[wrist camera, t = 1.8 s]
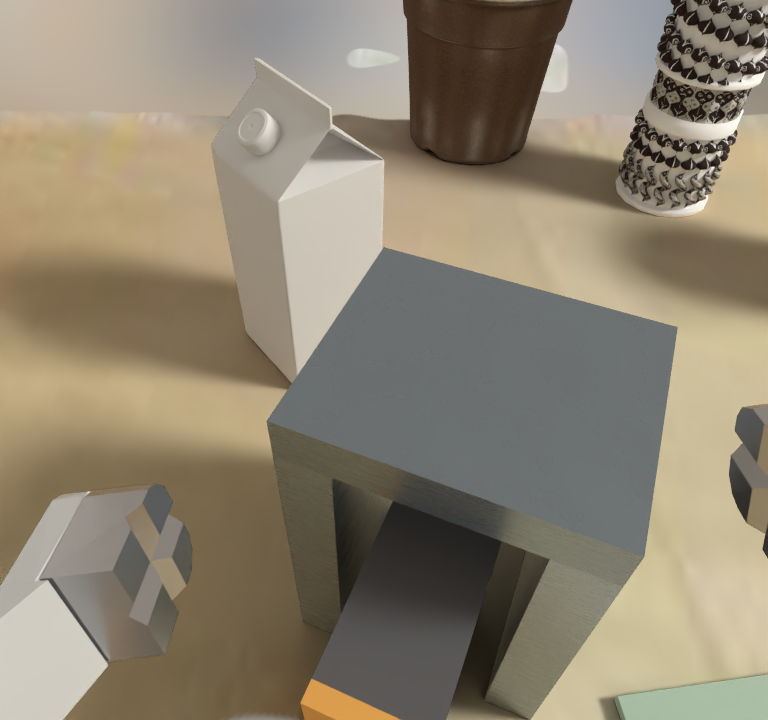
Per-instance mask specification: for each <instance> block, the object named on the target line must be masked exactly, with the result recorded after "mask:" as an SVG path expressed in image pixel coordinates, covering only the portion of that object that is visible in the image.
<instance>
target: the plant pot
mask: <svg viewBox="0 0 768 720" xmlns="http://www.w3.org/2000/svg"><path fill="white" fill-rule="evenodd" d="M571 3H572V0H403V8H404V14H405V16H406V18H407V33H408V34H407V35H408V56H409V57H408V60H409V91H410V132H411V136H412V138H413V140H414V141H415V143H416V144H417V145H418V146H419V147H420V148H421V149H423V150H427V149H429V150H431V151H433V152H434V153H435V154H436V155H437V157H438V158H440V159H443V160H446V161H451V162H457V163H464V164H487V163H495V162H499V161H503V160H506V159H508V158H509V157H510V155H511V154H512V153H513V152H515V151H516V152H519V151H520V150H521V149H522V148H523V146H524V144H525V142H526V138H527V134H528V130H529V127H530V124H531V120H532V117H533V114H534V111H535V107H536V104H537V100H538V97H539V94H540V90H541V87H542V84H543V81H544V78H545V74H546V71H547V68H548V65H549V62H550V58H551V55H552V52H553V49H554V45H555V42H556V39H557V36H558V33H559V32H560V31H561V30H562V28H563V27H564V25H565V22H566V19H567V15H568V12H569V9H570V6H571Z"/></svg>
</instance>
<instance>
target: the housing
mask: <svg viewBox="0 0 768 720" xmlns="http://www.w3.org/2000/svg"><path fill="white" fill-rule="evenodd" d="M677 328H678V327H675V326H671V325H667V324H664V323H660V322H656V321H653V320H649V319H645V318H642V317H638V316H634V315H631V314H627V313H623V312H620V311H616V310H612V309H609V308H605V307H601V306H598V305H594V304H590V303H587V302H583V301H579V300H576V299H572V298H568V297H565V296H561V295H557V294H553V293H550V292H546V291H542V290H539V289H535V288H531V287H528V286H524V285H520V284H517V283H513V282H509V281H506V280H502V279H498V278H495V277H491V276H487V275H484V274H480V273H476V272H473V271H469V270H465V269H462V268H458V267H454V266H451V265H447V264H443V263H440V262H436V261H432V260H428V259H425V258H421V257H417V256H414V255H410V254H406V253H403V252H399V251H395V250H392V249H388V248H383V249H382V251H381V252H380V254H379V255H378V257H377V258H376V259H375V261H374V262H373V264H372V265H371V267H370V268H369V270H368V271H367V273H366V274H365V276H364V277H363V279H362V280H361V282H360V283H359V285H358V286H357V288H356V289H355V291H354V292H353V294H352V295H351V297H350V298H349V300H348V301H347V303H346V304H345V306H344V307H343V308H342V310H341V311H340V313H339V314H338V316H337V317H336V319H335V320H334V322H333V323H332V325H331V326H330V328H329V329H328V331H327V332H326V334H325V335H324V337H323V338H322V340H321V341H320V343H319V344H318V346H317V347H316V349H315V350H314V352H313V353H312V355H311V356H310V358H309V359H308V360H307V362H306V363H305V365H304V366H303V368H302V369H301V371H300V372H299V374H298V375H297V377H296V378H295V380H294V381H293V383H292V384H291V386H290V387H289V389H288V390H287V392H286V393H285V395H284V396H283V398H282V399H281V401H280V402H279V404H278V405H277V407H276V408H275V409H274V411H273V412H272V414H271V415H270V417H269V418H268V420H267V426H268V431H269V437H270V442H271V448H272V453H273V459H274V464H275V470H276V475H277V481H278V486H279V492H280V497H281V503H282V508H283V514H284V519H285V525H286V530H287V536H288V541H289V547H290V552H291V558H292V563H293V569H294V575H295V580H296V586H297V591H298V597H299V602H300V608H301V613H302V619H303V621H304V622H307V623H309V624H311V625H313V626H316V627H318V628H320V629H323V630H325V631H327V632H329V633H333V631H334V628H335V626H336V624H337V622H338V620H339V617H340V615H341V613H342V611H343V609H344V607H345V604H346V602H347V600H348V598H349V596H350V593H351V591H352V589H353V587H354V585H355V582H356V580H357V578H358V576H359V574H360V572H361V569H362V567H363V565H364V563H365V561H366V558H367V556H368V554H369V552H370V550H371V547H372V545H373V543H374V541H375V539H376V537H377V534H378V532H379V530H380V528H381V526H382V523H383V521H384V519H385V517H386V515H387V512H388V510H389V508H390V506H391V504H392V502H393V501H395V502H397V503H400V504H403V505H405V506H408V507H411V508H413V509H416V510H419V511H422V512H424V513H427V514H430V515H432V516H435V517H438V518H440V519H443V520H446V521H448V522H451V523H454V524H456V525H459V526H462V527H464V528H467V529H470V530H472V531H475V532H478V533H481V534H483V535H486V536H489V537H491V538H494V539H497V540H499V541H502V542H505V543H507V544H510V545H513V546H515V547H518V548H521V549H523V550H526V553H525V556H524V560H523V563H522V567H521V571H520V574H519V578H518V581H517V585H516V588H515V592H514V596H513V599H512V603H511V606H510V610H509V613H508V617H507V621H506V624H505V628H504V631H503V635H502V638H501V642H500V646H499V649H498V653H497V656H496V660H495V663H494V667H493V671H492V674H491V678H490V681H489V685H488V688H487V692H486V696H485V699H484V700H485V701H487V702H490V703H492V704H494V705H496V706H499V707H501V708H503V709H506V710H508V711H510V712H512V713H515V714H517V715H519V716H522V717H524V718H526V719H529V720H530V719H531V718H532V717H533V715H534V714H535V712H536V711H537V709H538V708H539V707H540V705H541V704H542V702H543V701H544V699H545V698H546V697H547V695H548V694H549V692H550V691H551V689H552V688H553V687H554V685H555V684H556V682H557V681H558V679H559V678H560V677H561V675H562V674H563V672H564V671H565V669H566V668H567V667H568V665H569V664H570V662H571V661H572V659H573V658H574V656H575V655H576V654H577V652H578V651H579V649H580V648H581V646H582V645H583V644H584V642H585V641H586V639H587V638H588V636H589V635H590V634H591V632H592V631H593V629H594V628H595V626H596V625H597V624H598V622H599V621H600V619H601V618H602V616H603V615H604V614H605V612H606V611H607V609H608V608H609V606H610V605H611V604H612V602H613V601H614V599H615V598H616V596H617V595H618V594H619V592H620V591H621V589H622V588H623V586H624V585H625V584H626V582H627V581H628V579H629V578H630V576H631V575H632V573H633V572H634V571H635V569H636V568H637V566H638V565H639V563H640V562H641V561H642V559H643V558H644V555H645V548H646V541H647V534H648V527H649V520H650V514H651V507H652V500H653V493H654V486H655V479H656V472H657V465H658V458H659V452H660V445H661V438H662V431H663V424H664V417H665V410H666V403H667V396H668V390H669V383H670V376H671V369H672V362H673V355H674V348H675V341H676V334H677Z"/></svg>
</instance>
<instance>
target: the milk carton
mask: <svg viewBox="0 0 768 720" xmlns="http://www.w3.org/2000/svg"><path fill="white" fill-rule="evenodd" d="M254 60H255V69H256V76H257V78H256V79H255V80H254V82H253V83H252V85H251V86H250V88H249V89H248V91H247V92H246V94H245V95H244V96H243V98H242V100H241V101H240V102H239V104H238V105H237V107H236V108H235V110H234V111H233V112H232V114H231V115H230V117H229V118H228V120H227V121H226V123H225V124H224V126H223V127H222V128H221V130H220V131H219V133H218V134H217V136H216V137H215V139H214V140H213V142H212V143H211V148H212V155H213V161H214V166H215V172H216V177H217V182H218V188H219V193H220V198H221V203H222V209H223V214H224V219H225V225H226V230H227V235H228V240H229V246H230V251H231V256H232V262H233V267H234V272H235V278H236V283H237V288H238V293H239V299H240V304H241V309H242V315H243V320H244V325H245V330H246V332H247V334H248V335H249V336H250V337H251V339H252V340H253V341H254V342H255V343H256V344H257V345H258V346H259V347H260V349H261V350H262V351H263V352H264V353H265V354H266V355H267V356H268V357H269V359H270V360H271V361H272V362H273V363H274V364H275V365H276V366H277V367H278V369H279V370H280V371H281V372H282V373H283V374H284V375H285V376H286V378H287V379H288V380H289V381H290V382H291V383H293V381H294V380H295V378H296V377H297V375H298V374H299V372H300V371H301V369H302V368H303V366H304V365H305V363H306V362H307V360H308V359H309V358H310V356H311V355H312V353H313V352H314V350H315V349H316V347H317V346H318V344H319V343H320V341H321V340H322V338H323V337H324V335H325V334H326V332H327V331H328V329H329V328H330V326H331V325H332V323H333V322H334V320H335V319H336V317H337V316H338V314H339V313H340V311H341V310H342V308H343V307H344V306H345V304H346V303H347V301H348V300H349V298H350V297H351V295H352V294H353V292H354V291H355V289H356V288H357V286H358V285H359V283H360V282H361V280H362V279H363V277H364V276H365V274H366V273H367V271H368V270H369V268H370V267H371V265H372V264H373V262H374V261H375V259H376V258H377V257H378V255H379V254H380V252H381V251H382V232H383V192H384V161H385V160H384V159H383V158H381V157H380V156H378V155H377V154H376V153H374V152H373V151H371V150H370V149H368V148H367V147H365V146H364V145H362V144H361V143H360V142H358V141H357V140H355V139H354V138H352V137H351V136H349V135H348V134H346V133H345V132H344V131H342V130H341V129H339V128H338V127H336V126H335V125H333V124H332V107H331V106H330V105H328V104H327V103H325V102H324V101H322V100H321V99H319V98H318V97H316V96H315V95H313V94H312V93H310V92H309V91H307V90H306V89H304V88H303V87H301V86H300V85H298V84H297V83H295V82H294V81H292V80H291V79H289V78H288V77H286V76H285V75H283V74H282V73H280V72H278V71H277V70H276V69H274V68H272V67H271V66H269V65H268V64H267V63H265V62H264V61H262V60H260V59H259V58H255V59H254Z"/></svg>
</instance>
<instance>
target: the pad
mask: <svg viewBox="0 0 768 720" xmlns="http://www.w3.org/2000/svg"><path fill="white" fill-rule="evenodd" d="M614 701H615V704H616V707H617V710H618V713H619V715H620V718H621V720H768V674H767V675H761V676H754V677H747V678H740V679H733V680H726V681H719V682H712V683H706V684H699V685H692V686H685V687H678V688H671V689H664V690H657V691H650V692H644V693H637V694H630V695H623V696H618V697H617V698H616V699H615V700H614Z"/></svg>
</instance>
